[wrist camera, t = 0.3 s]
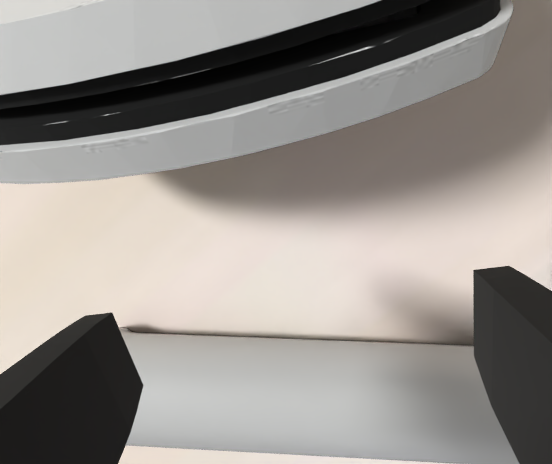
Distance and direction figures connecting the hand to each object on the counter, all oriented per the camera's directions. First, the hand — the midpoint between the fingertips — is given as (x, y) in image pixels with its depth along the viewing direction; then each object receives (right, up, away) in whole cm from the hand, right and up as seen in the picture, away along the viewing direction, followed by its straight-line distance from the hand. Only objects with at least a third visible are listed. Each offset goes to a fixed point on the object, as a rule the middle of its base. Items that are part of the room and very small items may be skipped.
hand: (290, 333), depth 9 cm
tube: (+4, -4, +13) cm, 15 cm away
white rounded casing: (-3, +10, +6) cm, 13 cm away
